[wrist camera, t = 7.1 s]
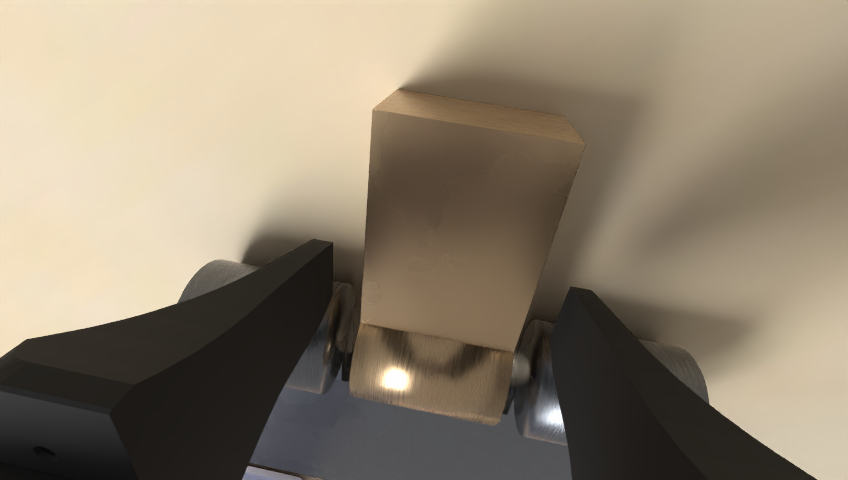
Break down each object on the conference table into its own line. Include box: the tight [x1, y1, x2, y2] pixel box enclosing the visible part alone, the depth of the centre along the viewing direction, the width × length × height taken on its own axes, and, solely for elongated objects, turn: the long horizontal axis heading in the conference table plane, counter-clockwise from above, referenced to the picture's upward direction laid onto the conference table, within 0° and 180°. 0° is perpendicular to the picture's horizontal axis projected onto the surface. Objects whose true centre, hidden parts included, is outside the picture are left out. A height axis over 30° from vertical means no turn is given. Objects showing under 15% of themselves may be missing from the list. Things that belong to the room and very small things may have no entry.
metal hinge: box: [178, 260, 709, 480], centre depth 16 cm, size 13×19×4 cm
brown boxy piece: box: [349, 89, 586, 426], centre depth 13 cm, size 10×5×4 cm, turn 173°
